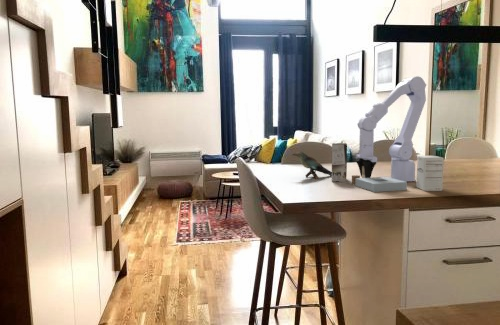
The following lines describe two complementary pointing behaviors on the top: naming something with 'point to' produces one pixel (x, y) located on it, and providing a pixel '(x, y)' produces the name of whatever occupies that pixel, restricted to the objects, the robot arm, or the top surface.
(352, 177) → the short dowel
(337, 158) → the coffee box
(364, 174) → the long dowel
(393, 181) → the hole board
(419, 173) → the supplement box
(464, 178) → the top surface
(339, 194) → the top surface
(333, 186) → the top surface
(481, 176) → the top surface
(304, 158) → the bird figurine
